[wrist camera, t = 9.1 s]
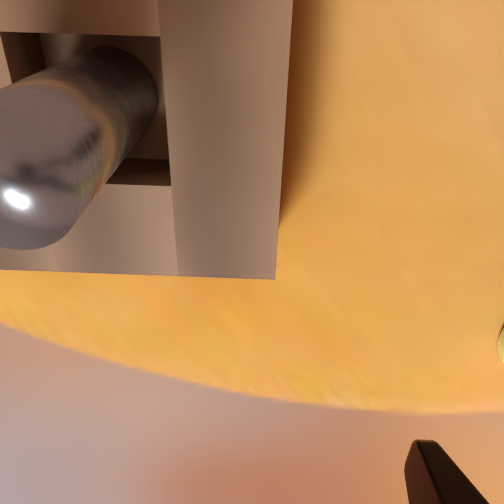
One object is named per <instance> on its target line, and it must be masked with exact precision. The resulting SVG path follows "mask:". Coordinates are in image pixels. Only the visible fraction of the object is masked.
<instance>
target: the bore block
mask: <svg viewBox="0 0 504 504" xmlns="http://www.w3.org/2000/svg"><path fill="white" fill-rule="evenodd" d="M292 8H293V0H0V89H1V88H3V87H6V86H8V85H10V84H12V83H15V82H17V81H19V80H21V79H24V78H26V77H28V76H30V75H33V74H35V73H37V72H39V71H42V70H44V69H46V68H48V67H51V66H53V65H55V64H57V63H60V62H62V61H64V60H66V59H69V58H71V57H73V56H75V55H78V54H80V53H82V52H84V51H87V50H89V49H91V48H94V47H99V46H112V47H117V48H120V49H123V50H125V51H127V52H129V53H131V54H132V55H134V56H135V57H137V58H138V59H139V60H140V61H141V62H142V63H143V64H144V65H145V66H146V68H147V69H148V70H149V72H150V74H151V75H152V77H153V79H154V82H155V85H156V88H157V94H158V106H157V111H156V114H155V117H154V119H153V121H152V122H151V124H150V125H149V127H148V128H147V129H146V131H145V132H144V133H143V134H142V136H141V137H140V138H139V140H138V141H137V142H136V144H135V145H134V146H133V148H132V149H131V150H130V152H129V153H128V154H127V156H126V157H125V158H124V160H123V161H122V162H121V163H120V165H119V166H118V167H117V169H116V170H115V171H114V173H113V174H112V175H111V177H110V178H109V179H108V181H107V182H106V183H105V185H104V186H103V187H102V189H101V190H100V191H99V193H98V194H97V195H96V196H95V198H94V199H93V200H92V202H91V203H90V204H89V206H88V207H87V208H86V210H85V211H84V212H83V214H82V215H81V216H80V218H79V219H78V220H77V222H76V223H75V224H74V226H73V227H72V228H71V229H70V231H69V232H68V233H67V234H66V235H65V236H64V237H63V238H61V239H60V240H59V241H57V242H55V243H54V244H51V245H49V246H46V247H43V248H39V249H32V250H15V249H8V248H3V247H0V270H26V271H53V272H80V273H108V274H135V275H162V276H189V277H216V278H243V279H271V280H275V273H276V258H277V242H278V226H279V211H280V195H281V180H282V164H283V148H284V133H285V117H286V102H287V86H288V71H289V55H290V39H291V24H292Z"/></svg>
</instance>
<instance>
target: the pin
mask: <svg viewBox="0 0 504 504" xmlns="http://www.w3.org/2000/svg"><path fill="white" fill-rule="evenodd" d="M157 106H158V94H157V88H156V85H155V82H154V79H153V77H152V75H151V74H150V72H149V70H148V69H147V68H146V66H145V65H144V64H143V63H142V62H141V61H140V60H139V59H138V58H137V57H135V56H134V55H132V54H131V53H129V52H127V51H125V50H123V49H120V48H117V47H112V46H99V47H94V48H91V49H89V50H87V51H84V52H82V53H80V54H78V55H75V56H73V57H71V58H69V59H66V60H64V61H62V62H60V63H57V64H55V65H53V66H51V67H48V68H46V69H44V70H42V71H39V72H37V73H35V74H33V75H30V76H28V77H26V78H24V79H21V80H19V81H17V82H15V83H12V84H10V85H8V86H6V87H3V88H1V89H0V247H3V248H8V249H15V250H32V249H39V248H43V247H46V246H49V245H51V244H54V243H55V242H57V241H59V240H60V239H61V238H63V237H64V236H65V235H66V234H67V233H68V232H69V231H70V229H71V228H72V227H73V226H74V224H75V223H76V222H77V220H78V219H79V218H80V216H81V215H82V214H83V212H84V211H85V210H86V208H87V207H88V206H89V204H90V203H91V202H92V200H93V199H94V198H95V196H96V195H97V194H98V193H99V191H100V190H101V189H102V187H103V186H104V185H105V183H106V182H107V181H108V179H109V178H110V177H111V175H112V174H113V173H114V171H115V170H116V169H117V167H118V166H119V165H120V163H121V162H122V161H123V160H124V158H125V157H126V156H127V154H128V153H129V152H130V150H131V149H132V148H133V146H134V145H135V144H136V142H137V141H138V140H139V138H140V137H141V136H142V134H143V133H144V132H145V131H146V129H147V128H148V127H149V125H150V124H151V122H152V121H153V119H154V117H155V114H156V111H157Z"/></svg>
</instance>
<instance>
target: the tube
mask: <svg viewBox="0 0 504 504" xmlns="http://www.w3.org/2000/svg"><path fill="white" fill-rule="evenodd" d="M498 352H499V355H500V357H501V359H502V361H503V363H504V328H503V330H502V332H501V334H500V337H499V340H498Z"/></svg>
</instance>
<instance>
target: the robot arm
mask: <svg viewBox="0 0 504 504" xmlns="http://www.w3.org/2000/svg"><path fill="white" fill-rule="evenodd" d="M404 473H405V481H406V487H407V493H408V500H409V504H489V503H488V502H487V500H486V499H485V498H484V497H483V496H482V495H481V494H480V492H479V491H478V490H477V489H476V487H475V486H474V485H473V484H472V483H471V482H470V480H469V479H468V478H467V477H466V476H465V475H464V473H463V472H462V471H461V470H460V469H459V468H458V466H457V465H456V464H455V463H454V462H453V460H452V459H451V458H450V457H449V456H448V454H447V453H446V452H445V451H444V450H443V449H442V447H441V446H440V445H439V444H438V443H437V442H435V441H433V440H414V441H413V442H412V444H411V448H410V450H409V453H408V456H407V459H406V462H405V467H404Z"/></svg>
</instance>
